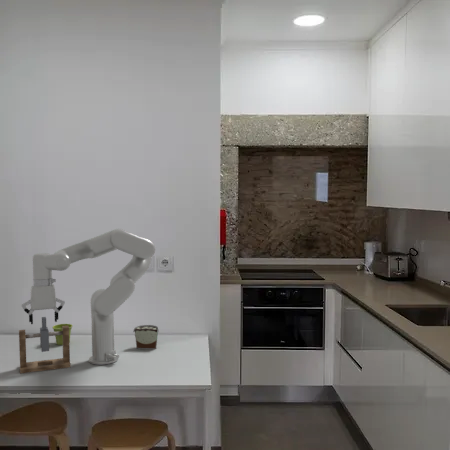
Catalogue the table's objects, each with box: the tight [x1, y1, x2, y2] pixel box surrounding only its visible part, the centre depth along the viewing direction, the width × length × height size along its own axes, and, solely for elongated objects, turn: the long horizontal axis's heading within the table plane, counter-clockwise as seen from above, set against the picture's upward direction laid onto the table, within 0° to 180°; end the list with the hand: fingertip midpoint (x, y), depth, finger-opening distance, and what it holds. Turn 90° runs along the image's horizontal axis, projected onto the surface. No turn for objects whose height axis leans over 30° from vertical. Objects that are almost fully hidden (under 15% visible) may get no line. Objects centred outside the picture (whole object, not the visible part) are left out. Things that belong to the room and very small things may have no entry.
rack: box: [18, 326, 71, 374], centre depth 227 cm, size 20×9×16 cm, turn 111°
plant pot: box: [52, 323, 73, 346], centre depth 261 cm, size 9×9×9 cm
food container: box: [133, 324, 160, 350], centre depth 255 cm, size 12×6×10 cm, turn 84°
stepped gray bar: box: [39, 316, 50, 353], centre depth 226 cm, size 8×3×14 cm, turn 22°
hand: (43, 322), depth 226 cm, fingers open, 9 cm apart
